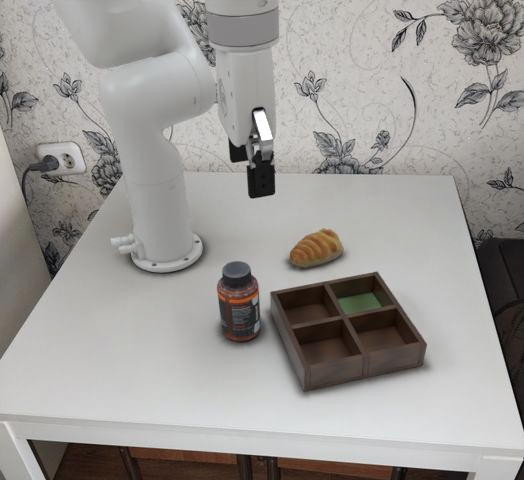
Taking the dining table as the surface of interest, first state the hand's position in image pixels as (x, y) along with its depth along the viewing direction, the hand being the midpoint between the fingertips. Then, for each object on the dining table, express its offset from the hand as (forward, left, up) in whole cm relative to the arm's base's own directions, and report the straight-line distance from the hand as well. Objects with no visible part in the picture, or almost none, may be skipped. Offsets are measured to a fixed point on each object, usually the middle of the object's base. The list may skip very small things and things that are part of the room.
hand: (251, 177), depth 74 cm
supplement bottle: (-3, -1, -24) cm, 25 cm away
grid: (+11, -7, -24) cm, 27 cm away
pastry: (+14, +14, -24) cm, 32 cm away
